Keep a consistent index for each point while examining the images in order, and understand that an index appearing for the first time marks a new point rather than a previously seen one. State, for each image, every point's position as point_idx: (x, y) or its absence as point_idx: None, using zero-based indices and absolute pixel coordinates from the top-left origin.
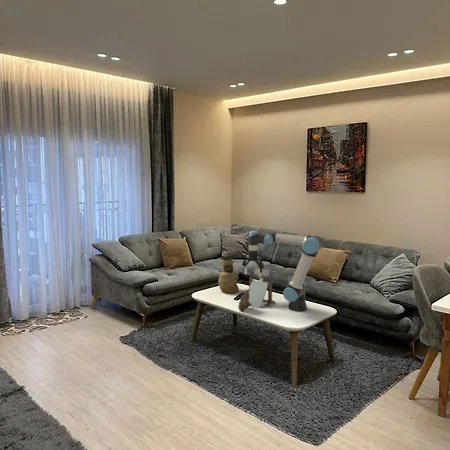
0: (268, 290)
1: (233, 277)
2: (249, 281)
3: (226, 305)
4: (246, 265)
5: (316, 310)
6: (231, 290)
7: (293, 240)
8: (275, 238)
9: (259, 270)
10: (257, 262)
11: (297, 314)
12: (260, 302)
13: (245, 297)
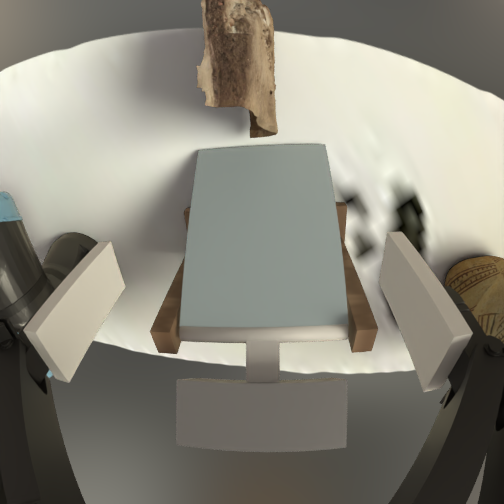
0: None
1: (490, 334)
2: (368, 309)
3: (395, 70)
4: (444, 399)
5: None
6: (464, 270)
7: None
8: None
9: (42, 309)
10: (5, 478)
11: (40, 206)
12: (203, 175)
13: (264, 76)
